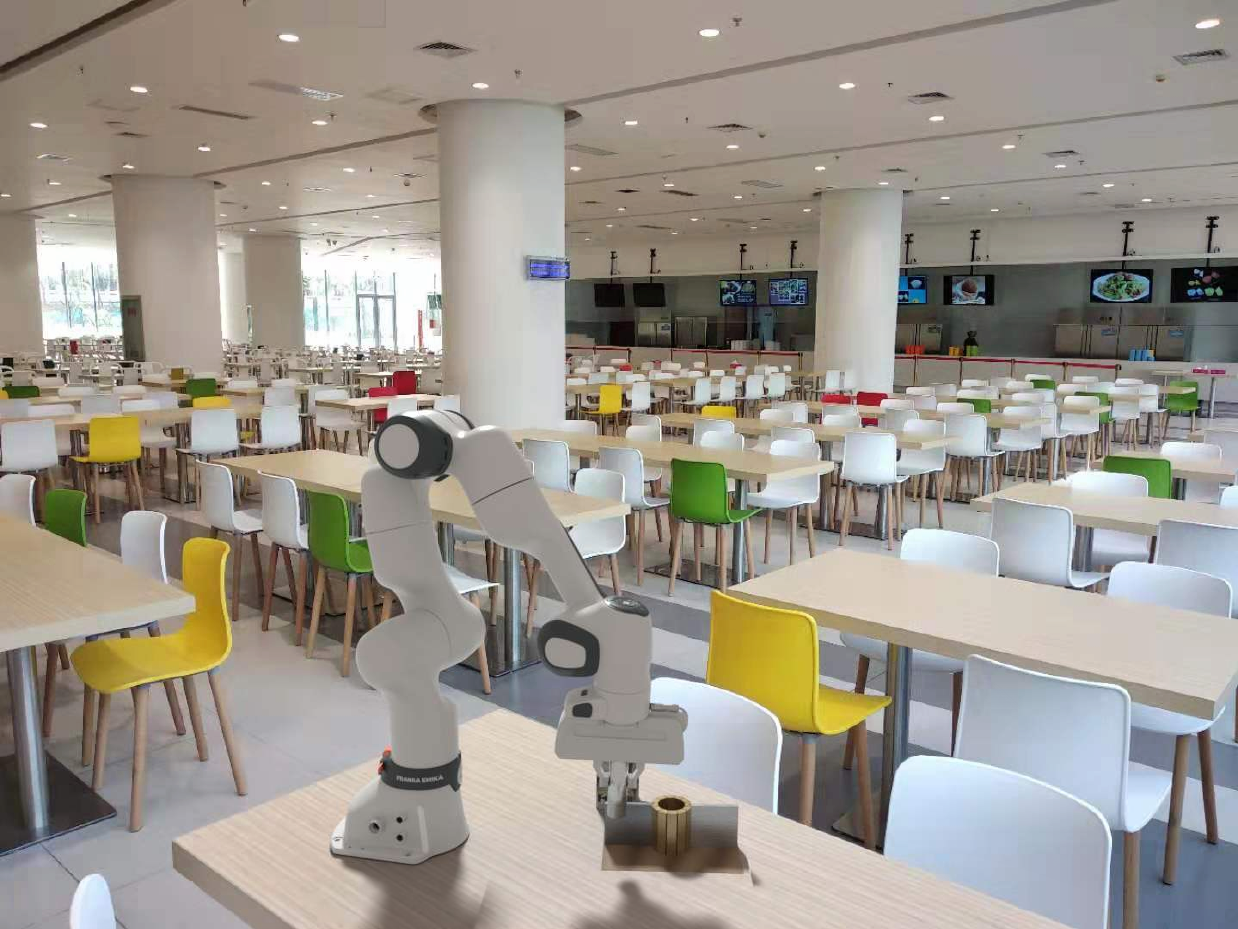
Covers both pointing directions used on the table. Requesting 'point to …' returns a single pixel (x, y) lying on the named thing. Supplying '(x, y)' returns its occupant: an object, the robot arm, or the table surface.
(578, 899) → the table surface
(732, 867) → the walnut base
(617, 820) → the hinge
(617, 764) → the hinge pin
